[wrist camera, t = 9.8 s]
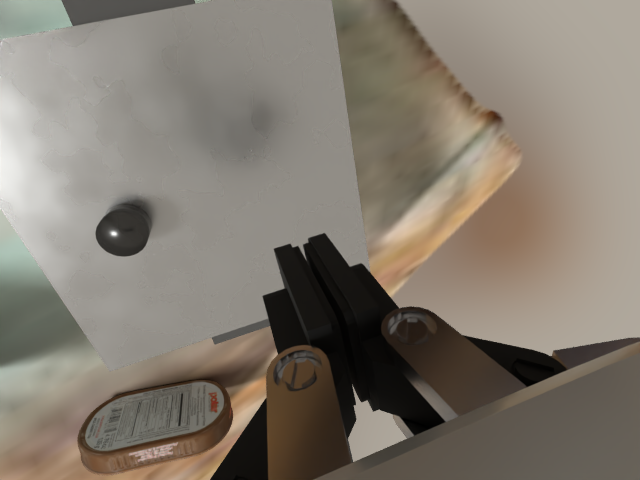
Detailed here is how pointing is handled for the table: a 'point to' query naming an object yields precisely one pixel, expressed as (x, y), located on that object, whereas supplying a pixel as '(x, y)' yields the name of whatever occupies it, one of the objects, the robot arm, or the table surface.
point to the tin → (155, 426)
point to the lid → (177, 164)
